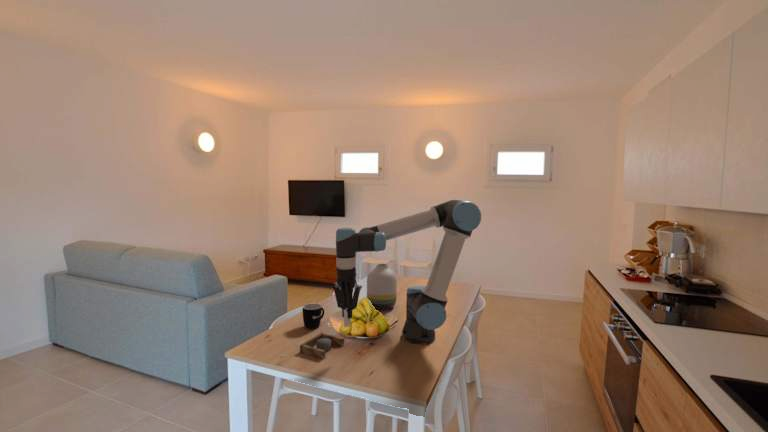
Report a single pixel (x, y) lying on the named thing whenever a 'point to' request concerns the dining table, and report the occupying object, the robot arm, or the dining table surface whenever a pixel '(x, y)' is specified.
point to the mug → (312, 315)
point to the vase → (382, 287)
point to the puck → (324, 344)
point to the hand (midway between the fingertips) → (347, 325)
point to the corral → (310, 350)
